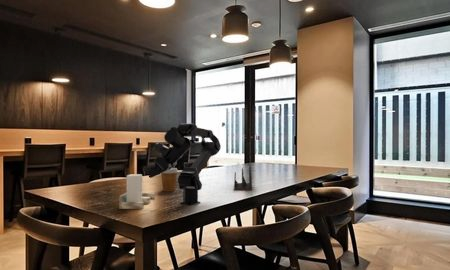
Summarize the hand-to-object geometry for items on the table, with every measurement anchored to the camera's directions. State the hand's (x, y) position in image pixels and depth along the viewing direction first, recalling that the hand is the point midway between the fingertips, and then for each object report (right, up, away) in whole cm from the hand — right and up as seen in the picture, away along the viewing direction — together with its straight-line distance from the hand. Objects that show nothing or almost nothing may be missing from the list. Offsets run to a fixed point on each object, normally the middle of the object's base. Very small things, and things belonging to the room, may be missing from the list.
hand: (152, 175), depth 124 cm
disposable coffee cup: (0, -13, +38) cm, 40 cm away
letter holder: (+41, -14, +48) cm, 65 cm away
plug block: (-8, -13, 0) cm, 15 cm away
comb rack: (-8, -13, +5) cm, 16 cm away
